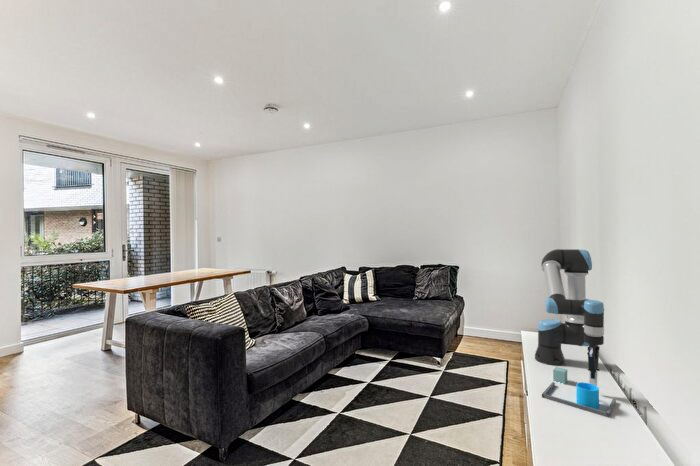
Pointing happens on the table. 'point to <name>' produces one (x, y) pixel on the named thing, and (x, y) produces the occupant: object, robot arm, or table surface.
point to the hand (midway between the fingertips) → (593, 384)
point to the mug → (587, 395)
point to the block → (560, 375)
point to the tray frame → (606, 414)
